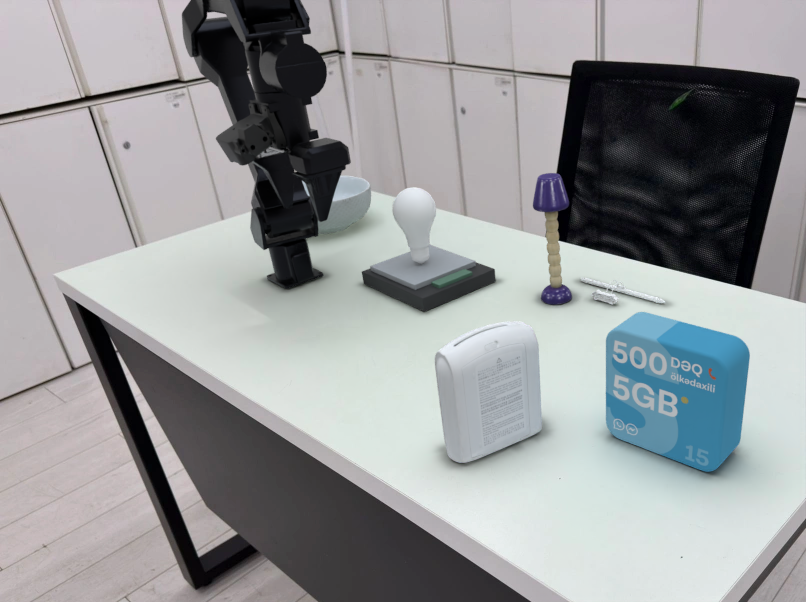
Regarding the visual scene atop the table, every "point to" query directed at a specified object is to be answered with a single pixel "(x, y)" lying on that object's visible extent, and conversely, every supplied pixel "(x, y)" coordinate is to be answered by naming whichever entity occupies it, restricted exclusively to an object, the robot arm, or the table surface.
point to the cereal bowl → (346, 204)
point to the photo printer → (489, 389)
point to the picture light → (612, 297)
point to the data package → (676, 389)
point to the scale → (428, 278)
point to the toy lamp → (552, 233)
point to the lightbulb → (415, 220)
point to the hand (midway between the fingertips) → (305, 214)
